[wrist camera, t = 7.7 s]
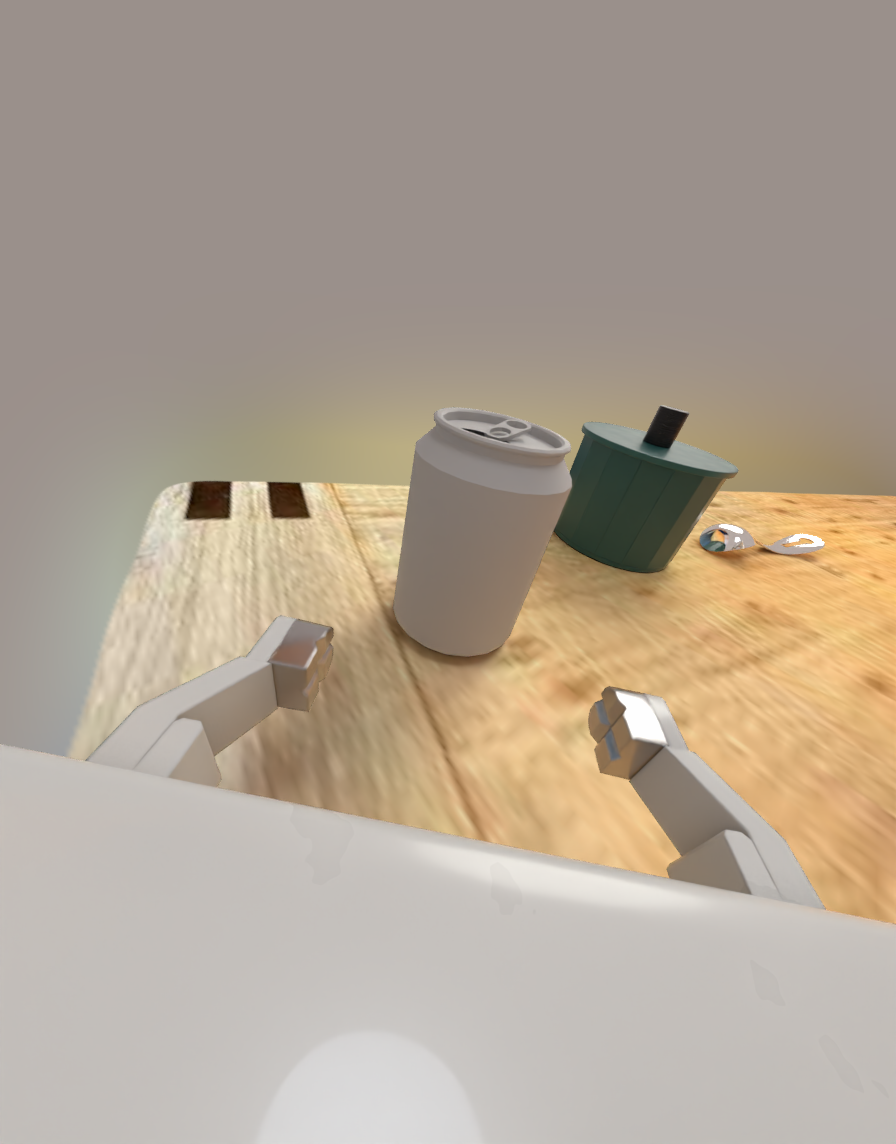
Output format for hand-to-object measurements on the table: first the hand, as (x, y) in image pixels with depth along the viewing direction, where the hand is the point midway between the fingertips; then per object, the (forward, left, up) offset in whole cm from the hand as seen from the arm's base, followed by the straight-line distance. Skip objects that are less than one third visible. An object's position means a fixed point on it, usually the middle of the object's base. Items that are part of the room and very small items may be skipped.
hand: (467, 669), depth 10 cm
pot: (-19, -26, -7) cm, 32 cm away
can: (-1, -10, -7) cm, 12 cm away
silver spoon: (-41, -30, -7) cm, 51 cm away
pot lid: (-19, -26, +3) cm, 32 cm away
